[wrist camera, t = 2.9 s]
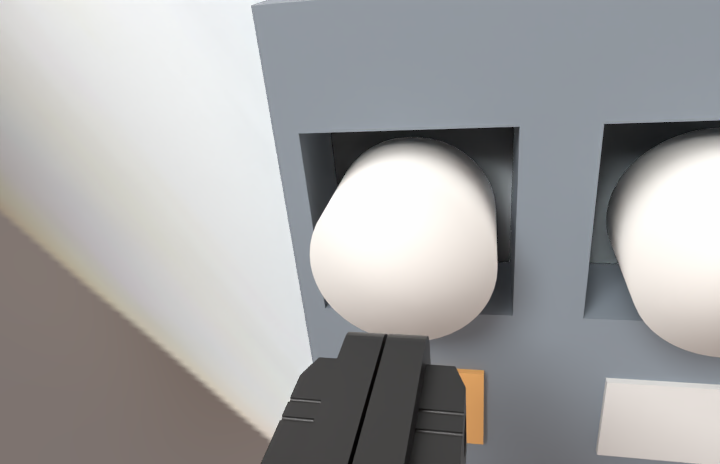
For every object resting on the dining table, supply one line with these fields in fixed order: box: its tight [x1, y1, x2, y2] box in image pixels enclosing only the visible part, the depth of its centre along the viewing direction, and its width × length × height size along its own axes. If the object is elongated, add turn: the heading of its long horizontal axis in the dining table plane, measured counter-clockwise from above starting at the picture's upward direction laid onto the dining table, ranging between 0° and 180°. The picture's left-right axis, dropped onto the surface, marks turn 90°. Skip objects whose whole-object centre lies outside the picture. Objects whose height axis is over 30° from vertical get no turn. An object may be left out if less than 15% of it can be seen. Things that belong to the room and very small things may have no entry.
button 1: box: [310, 136, 498, 340], centre depth 15 cm, size 5×5×3 cm
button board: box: [251, 0, 720, 464], centre depth 16 cm, size 22×16×3 cm
